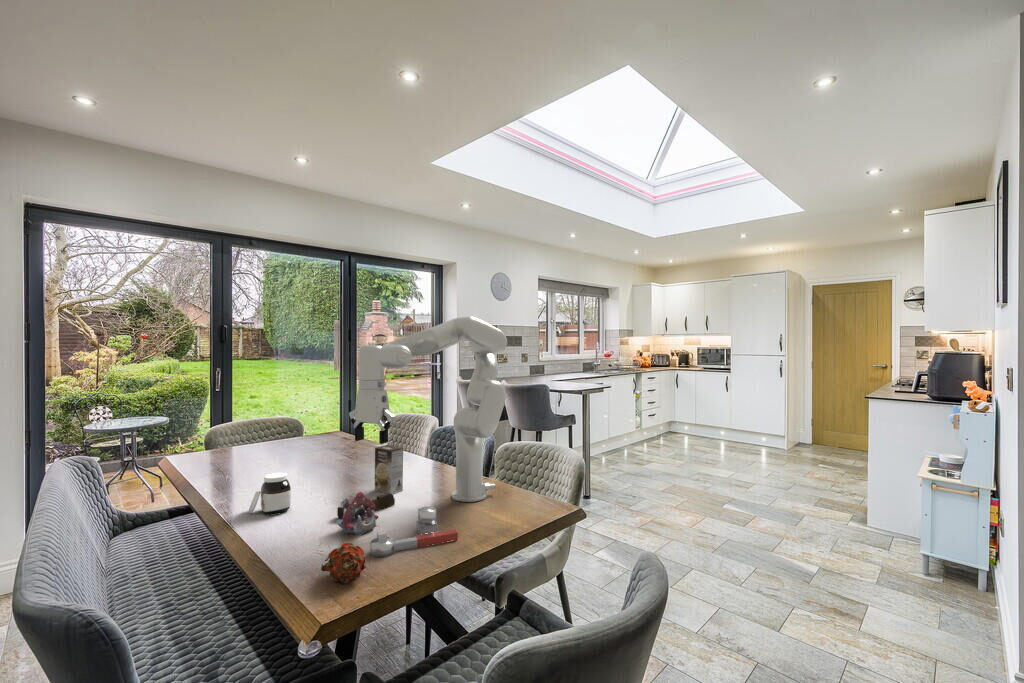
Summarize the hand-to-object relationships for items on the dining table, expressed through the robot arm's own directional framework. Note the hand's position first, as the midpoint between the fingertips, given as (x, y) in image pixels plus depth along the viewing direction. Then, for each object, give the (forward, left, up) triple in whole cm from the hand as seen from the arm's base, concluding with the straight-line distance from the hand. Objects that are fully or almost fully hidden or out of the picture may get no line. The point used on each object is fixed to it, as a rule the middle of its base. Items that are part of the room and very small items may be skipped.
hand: (371, 441), depth 137 cm
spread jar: (+29, -23, -25) cm, 44 cm away
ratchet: (-8, +22, -24) cm, 34 cm away
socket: (-14, +13, -24) cm, 31 cm away
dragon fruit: (+10, +32, -25) cm, 42 cm away
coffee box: (-10, -29, -25) cm, 39 cm away
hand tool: (0, -10, -25) cm, 27 cm away
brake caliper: (+4, +4, -25) cm, 25 cm away
